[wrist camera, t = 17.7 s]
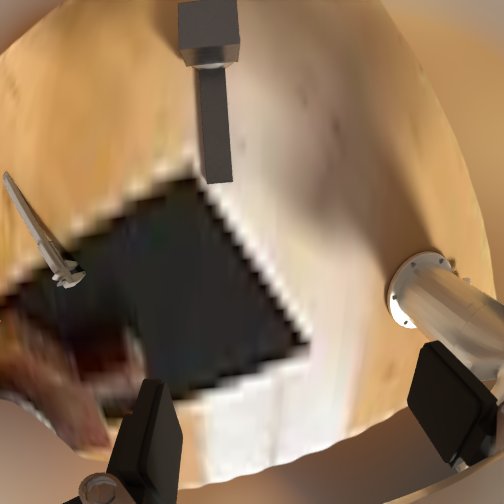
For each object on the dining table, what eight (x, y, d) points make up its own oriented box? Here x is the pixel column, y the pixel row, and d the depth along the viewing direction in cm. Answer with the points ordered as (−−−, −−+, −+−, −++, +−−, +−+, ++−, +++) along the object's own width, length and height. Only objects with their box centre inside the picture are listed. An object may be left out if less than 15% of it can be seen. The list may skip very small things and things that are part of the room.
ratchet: (237, 22, 31) (239, 5, 27) (249, 179, 37) (252, 182, 33) (182, 27, 31) (177, 11, 26) (191, 184, 37) (186, 188, 32)
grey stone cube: (234, 20, 30) (236, -3, 24) (238, 61, 31) (240, 44, 26) (184, 24, 29) (178, 3, 24) (186, 66, 31) (179, 50, 25)
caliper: (88, 272, 39) (68, 289, 33) (83, 277, 40) (64, 295, 34) (7, 171, 34) (-18, 174, 28) (4, 176, 34) (-22, 180, 28)
